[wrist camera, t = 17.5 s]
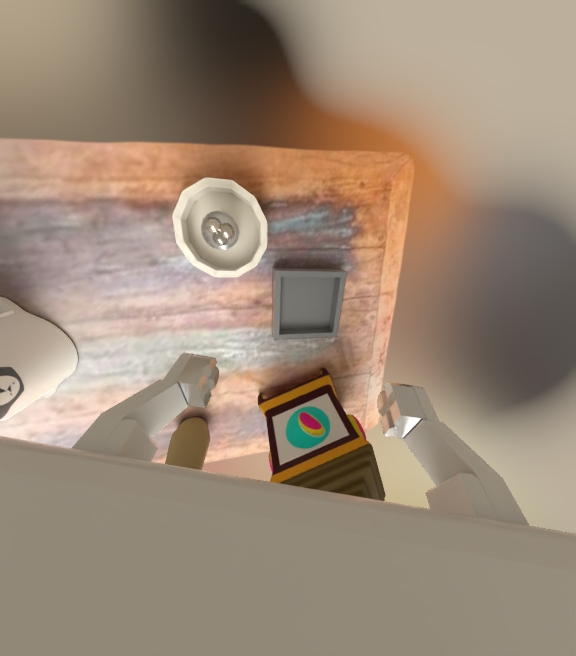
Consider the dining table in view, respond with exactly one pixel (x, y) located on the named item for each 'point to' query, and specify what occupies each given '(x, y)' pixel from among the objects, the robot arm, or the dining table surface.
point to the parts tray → (306, 302)
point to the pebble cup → (219, 230)
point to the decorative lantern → (319, 442)
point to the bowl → (234, 203)
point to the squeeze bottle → (189, 444)
